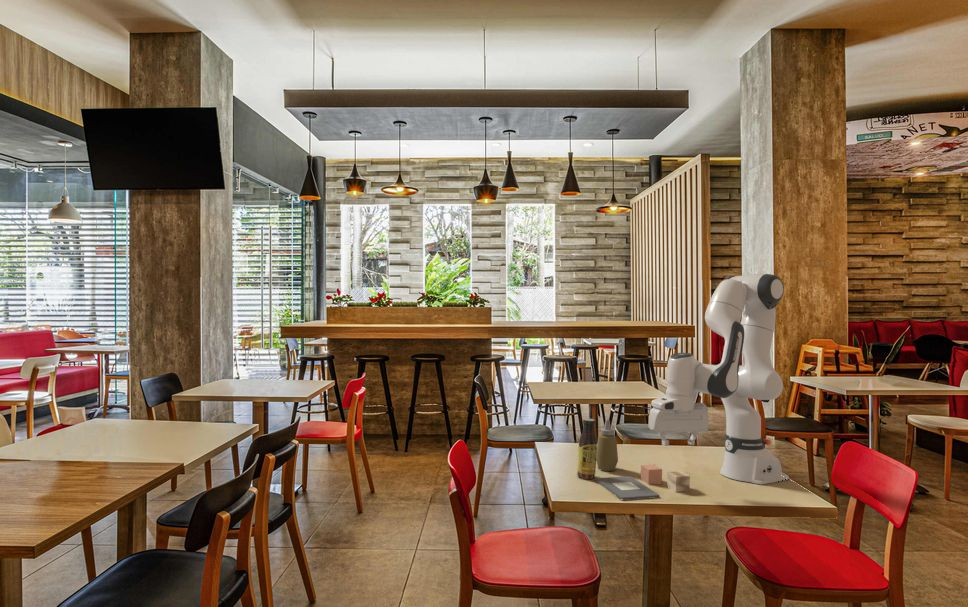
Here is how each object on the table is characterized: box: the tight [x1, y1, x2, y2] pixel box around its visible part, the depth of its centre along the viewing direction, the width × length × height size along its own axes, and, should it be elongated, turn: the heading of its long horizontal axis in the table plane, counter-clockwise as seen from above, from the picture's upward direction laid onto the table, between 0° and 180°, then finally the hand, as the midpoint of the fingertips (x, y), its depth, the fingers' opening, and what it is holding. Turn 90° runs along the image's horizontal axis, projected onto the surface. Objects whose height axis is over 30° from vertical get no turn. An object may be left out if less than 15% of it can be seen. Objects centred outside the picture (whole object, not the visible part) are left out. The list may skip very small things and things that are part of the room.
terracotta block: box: [640, 464, 663, 485], centre depth 178 cm, size 5×5×5 cm
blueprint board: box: [595, 475, 660, 500], centre depth 170 cm, size 13×18×1 cm
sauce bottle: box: [576, 418, 598, 480], centre depth 181 cm, size 6×6×20 cm
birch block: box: [666, 470, 691, 493], centre depth 171 cm, size 5×5×5 cm
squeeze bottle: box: [596, 418, 619, 472], centre depth 190 cm, size 8×8×18 cm
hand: (678, 445), depth 171 cm, fingers open, 8 cm apart
